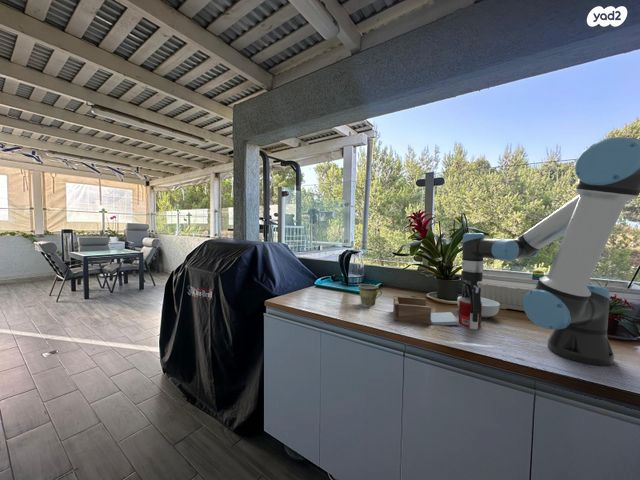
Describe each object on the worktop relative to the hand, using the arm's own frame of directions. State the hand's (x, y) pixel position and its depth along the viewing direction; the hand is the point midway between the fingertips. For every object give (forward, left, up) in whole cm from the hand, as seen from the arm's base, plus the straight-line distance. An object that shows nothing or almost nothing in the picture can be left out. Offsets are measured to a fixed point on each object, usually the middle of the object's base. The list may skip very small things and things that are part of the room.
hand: (469, 324), depth 107 cm
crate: (+1, +23, -1) cm, 23 cm away
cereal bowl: (+16, -8, -1) cm, 18 cm away
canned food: (0, 0, -1) cm, 1 cm away
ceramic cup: (+16, +41, -1) cm, 44 cm away
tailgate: (+1, +10, 0) cm, 10 cm away
